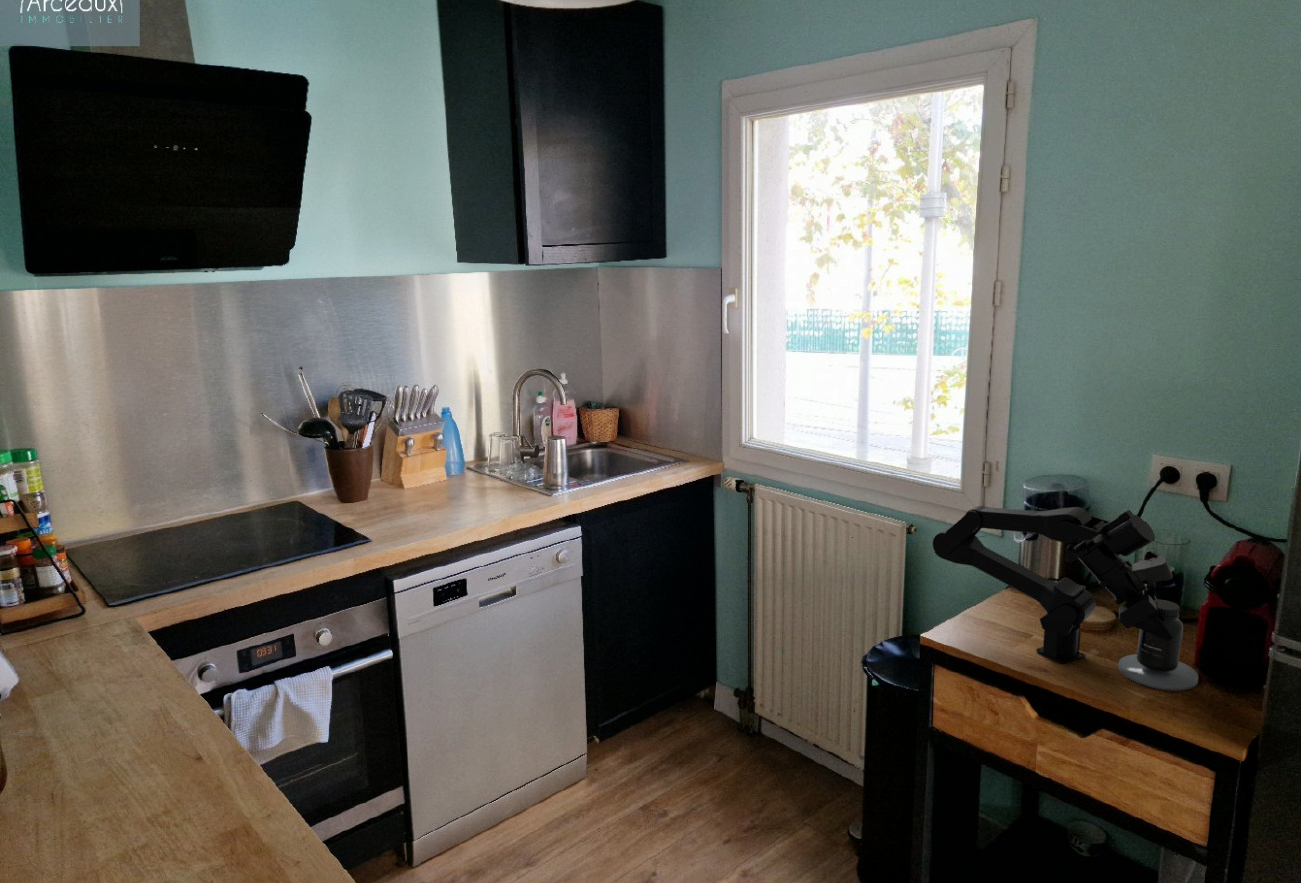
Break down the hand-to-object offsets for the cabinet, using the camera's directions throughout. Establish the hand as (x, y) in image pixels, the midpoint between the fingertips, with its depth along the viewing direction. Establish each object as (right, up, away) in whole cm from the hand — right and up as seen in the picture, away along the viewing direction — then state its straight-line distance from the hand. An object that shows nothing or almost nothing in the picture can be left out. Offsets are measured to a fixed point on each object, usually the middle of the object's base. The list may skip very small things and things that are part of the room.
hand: (1169, 631), depth 164 cm
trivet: (-1, -8, +2) cm, 9 cm away
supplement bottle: (-1, -7, +2) cm, 7 cm away
